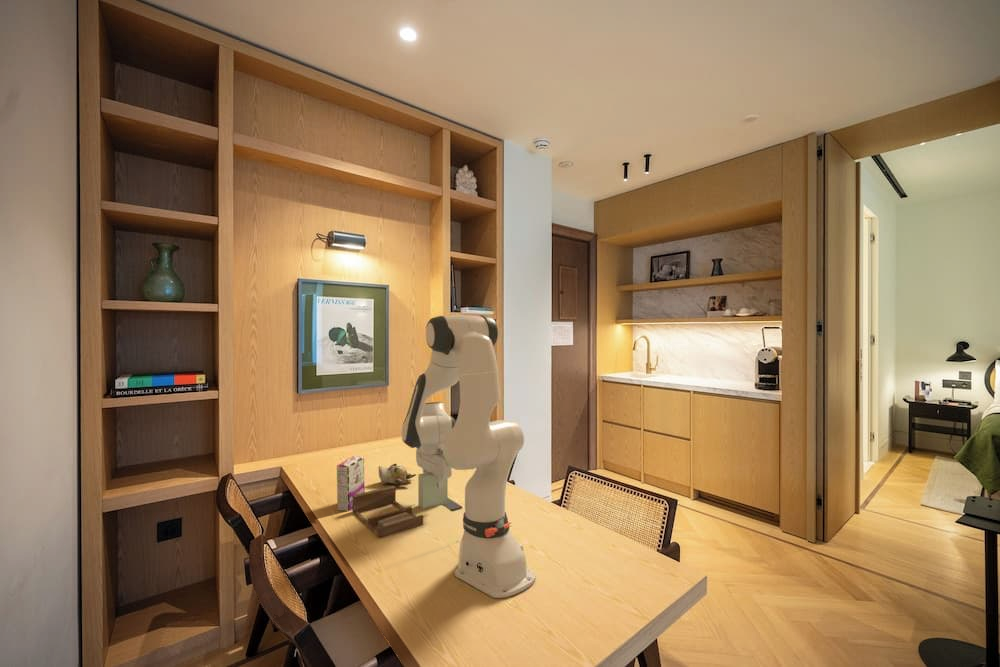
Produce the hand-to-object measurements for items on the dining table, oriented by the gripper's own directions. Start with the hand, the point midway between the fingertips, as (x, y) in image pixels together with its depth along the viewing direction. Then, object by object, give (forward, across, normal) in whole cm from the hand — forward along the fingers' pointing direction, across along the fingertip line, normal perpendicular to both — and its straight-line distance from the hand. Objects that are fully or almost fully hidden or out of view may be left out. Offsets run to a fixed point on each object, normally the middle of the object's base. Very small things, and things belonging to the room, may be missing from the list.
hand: (433, 484), depth 155 cm
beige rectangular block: (+8, 0, 0) cm, 8 cm away
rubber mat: (+8, 0, 0) cm, 9 cm away
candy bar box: (+8, +20, +23) cm, 32 cm away
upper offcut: (+7, -8, +18) cm, 21 cm away
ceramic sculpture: (+9, +31, +1) cm, 32 cm away
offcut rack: (+8, 0, +18) cm, 20 cm away
